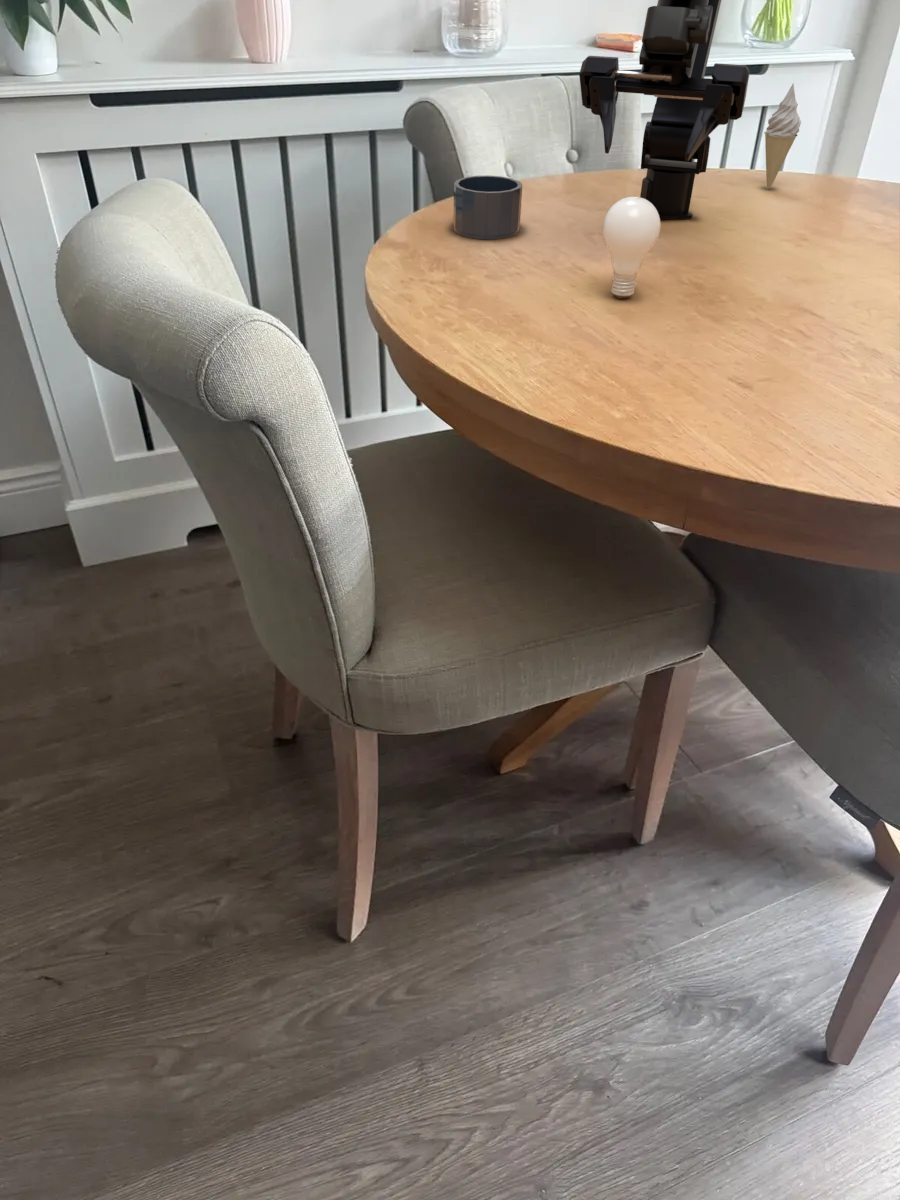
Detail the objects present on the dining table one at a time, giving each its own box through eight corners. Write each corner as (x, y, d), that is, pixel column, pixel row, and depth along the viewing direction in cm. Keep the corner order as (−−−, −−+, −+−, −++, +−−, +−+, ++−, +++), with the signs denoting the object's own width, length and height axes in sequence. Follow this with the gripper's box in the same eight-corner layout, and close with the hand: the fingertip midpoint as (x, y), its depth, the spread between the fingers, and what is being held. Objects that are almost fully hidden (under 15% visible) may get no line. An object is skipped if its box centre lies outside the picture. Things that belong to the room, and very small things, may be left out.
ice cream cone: (788, 193, 140) (814, 86, 130) (756, 192, 140) (780, 85, 130) (779, 185, 144) (804, 80, 134) (749, 184, 144) (771, 80, 134)
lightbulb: (648, 309, 100) (664, 207, 93) (592, 304, 100) (604, 203, 94) (649, 290, 104) (665, 191, 97) (596, 285, 105) (608, 188, 98)
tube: (511, 219, 127) (514, 174, 123) (525, 238, 120) (528, 191, 116) (449, 221, 125) (449, 176, 122) (459, 240, 118) (460, 193, 115)
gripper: (592, -31, 95) (559, 99, 94) (768, -25, 91) (736, 112, 89) (598, 46, 106) (568, 164, 105) (755, 55, 102) (727, 178, 100)
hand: (646, 154), depth 100 cm, fingers open, 9 cm apart
